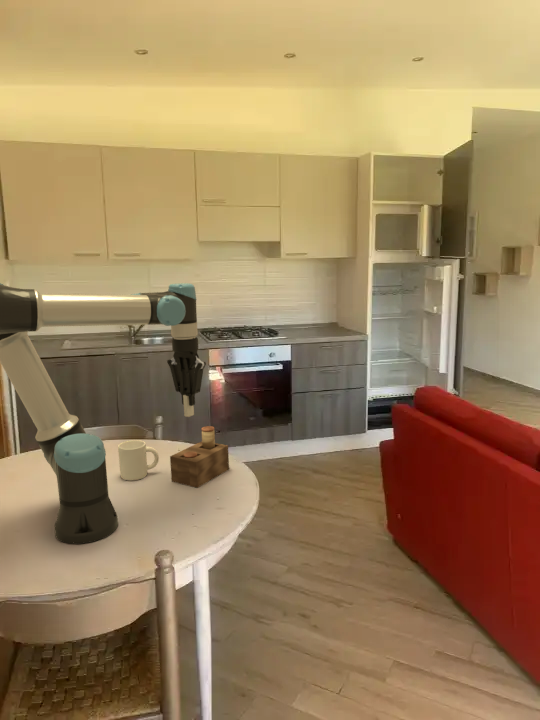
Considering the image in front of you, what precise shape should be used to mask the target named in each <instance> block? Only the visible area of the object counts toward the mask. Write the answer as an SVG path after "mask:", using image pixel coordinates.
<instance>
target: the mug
mask: <svg viewBox="0 0 540 720" xmlns="http://www.w3.org/2000/svg"><path fill="white" fill-rule="evenodd" d="M146 444H147V443H146V442H145V441H144V440H140V439H138V440H137V439H136V440H135V439H133V440H131V439H130V440H127V441H123V442H121V443H118V445H117V448H118V451H117V452H118V460H119V461H118V462H119V472H120V474H119V475H120V477H121V479H123V480H125V481H128V482H129V481H138V480H141V479H143V478H145V477H146V476H147V475H148V471H149V470H153V469H155V467H156V466H157V465H158V464H159V459H160V457H159V453H158V451H157V449H155V448H154V447H151V446H147V445H146ZM149 452H150V453H152V454H153V457H154V458H153V459H154V460H153V462H152V463H151V464H148V461H147V460H148V459H147V453H149Z"/></svg>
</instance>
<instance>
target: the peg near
mask: <svg viewBox="0 0 540 720" xmlns="http://www.w3.org/2000/svg"><path fill="white" fill-rule="evenodd" d="M195 457H197V453H196V452H186V453H184V458H188V459H193V458H195Z"/></svg>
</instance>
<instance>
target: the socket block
mask: <svg viewBox="0 0 540 720" xmlns="http://www.w3.org/2000/svg"><path fill="white" fill-rule="evenodd" d="M186 452H196V453H197V457H195V458H193V459H188V458H184V453H186ZM229 459H230V458H229V445H227V444H223V443H217V442H215V448H213V449H211V450H208V449H204V448H202V440H201V441H200V442H197V443H195V444H193V445H191V446H189V447H187V448H185V449H183V450H180V451H179V452H176V453H174V454H172V455H170V456H169V460H170V461H169V463H170V479H171V482H173V483H175V484H181V485H185V486H189V487H192V488H196V489H198V488H200V487H201V486H203V485H205V484H207V483H209V482H210V481H211V480H213V479H215V478H217V477H218V476H221V475H222V474H224V473H226V472H227V471H229V470H230V463H229V462H230V461H229Z"/></svg>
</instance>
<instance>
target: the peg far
mask: <svg viewBox="0 0 540 720" xmlns="http://www.w3.org/2000/svg"><path fill="white" fill-rule="evenodd" d="M215 435H216V434H215V427H214V426H211V425H208V426H207V425H205V426H203V427H201V441H202V448H204V449H208V450H211V449H213V448H215V443H216V439H215V438H216V436H215Z"/></svg>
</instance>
